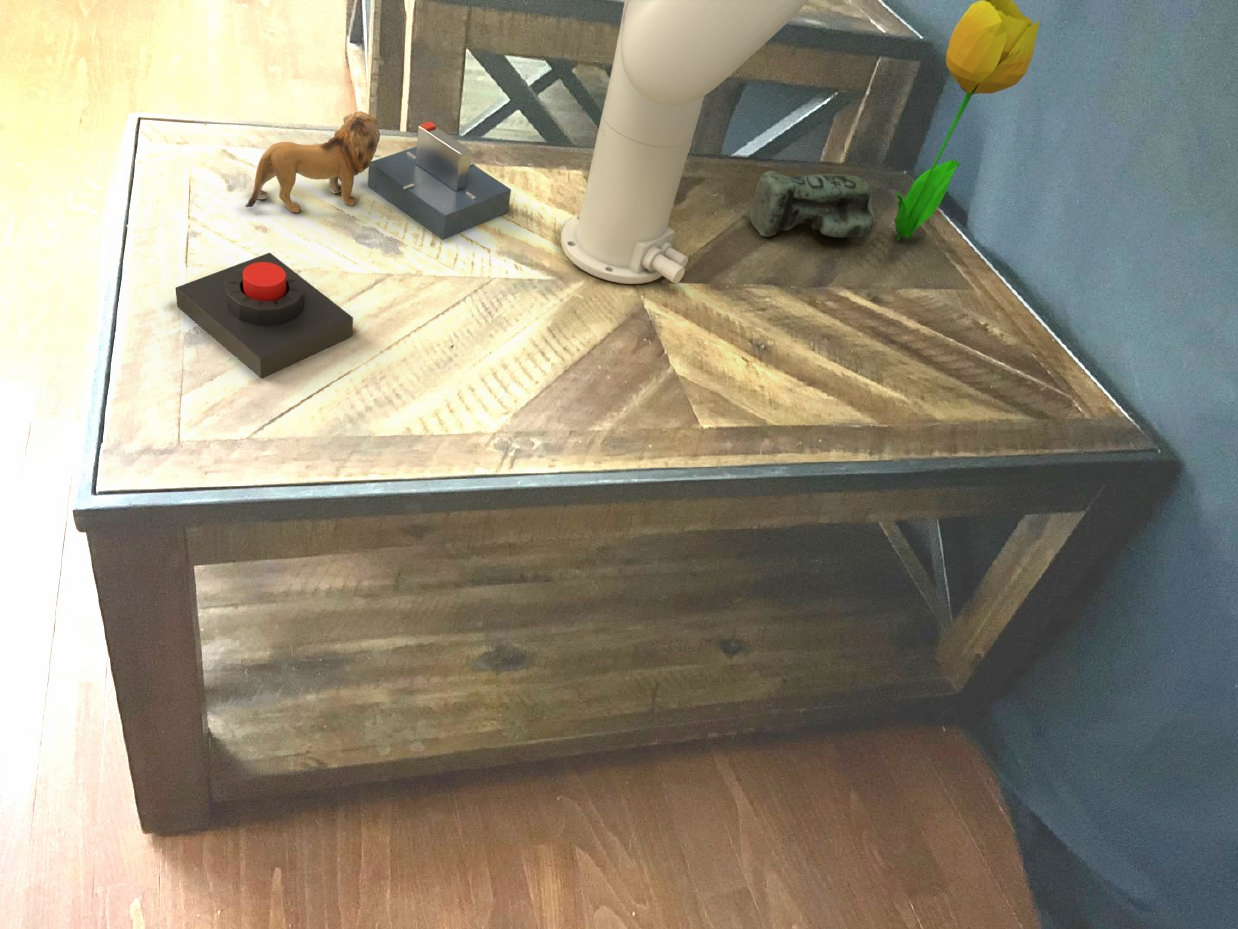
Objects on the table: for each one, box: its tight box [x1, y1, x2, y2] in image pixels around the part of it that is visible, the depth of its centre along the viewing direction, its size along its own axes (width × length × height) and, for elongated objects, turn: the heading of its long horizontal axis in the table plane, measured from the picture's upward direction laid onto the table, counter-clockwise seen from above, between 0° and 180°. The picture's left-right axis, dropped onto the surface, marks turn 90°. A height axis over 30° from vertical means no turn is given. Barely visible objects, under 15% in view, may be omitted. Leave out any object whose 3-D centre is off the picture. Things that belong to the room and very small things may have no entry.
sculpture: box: [749, 170, 876, 238], centre depth 125 cm, size 12×8×15 cm
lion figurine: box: [245, 110, 381, 213], centre depth 105 cm, size 15×5×9 cm, turn 129°
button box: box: [175, 252, 354, 379], centre depth 92 cm, size 12×10×4 cm
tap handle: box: [416, 121, 472, 191], centre depth 110 cm, size 6×2×5 cm, turn 50°
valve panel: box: [367, 146, 512, 240], centre depth 113 cm, size 12×11×3 cm
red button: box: [243, 262, 286, 301], centre depth 90 cm, size 4×4×2 cm
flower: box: [894, 0, 1041, 241], centre depth 120 cm, size 9×8×30 cm
